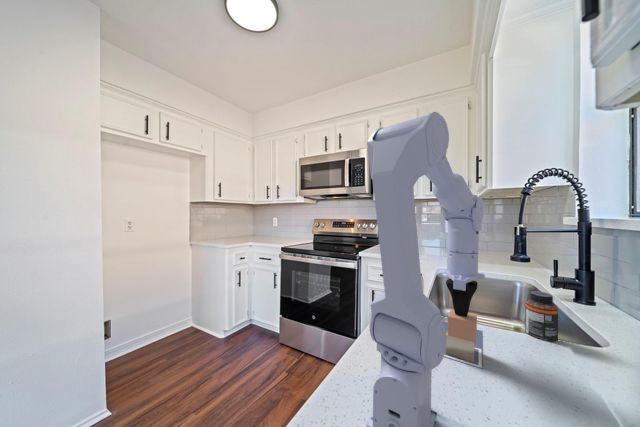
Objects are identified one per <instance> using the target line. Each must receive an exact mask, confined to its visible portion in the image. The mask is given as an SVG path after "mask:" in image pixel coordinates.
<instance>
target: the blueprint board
mask: <svg viewBox="0 0 640 427" xmlns="http://www.w3.org/2000/svg"><path fill="white" fill-rule="evenodd" d="M442 324H443V326H444V329H445V331H446V334H447V330H448V321H447V322H446V321H442ZM483 335H484V334H483V330H481V329H480V330H479V329H477V334H476V343H475V351H474V362H471V361H468V360H464V359H461V358H458V357H455V356H451V355H448V354H446V350H445V354H444V357H443V359H444V358H446V359H448V360H451V361H454V362H458V363H460V364H464V365H467V366H471V367H474V368H477V369H480V370H484V349H483V348H484V346H483V345H484V344H483V343H484V341H483V337H484V336H483Z"/></svg>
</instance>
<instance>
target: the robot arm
mask: <svg viewBox="0 0 640 427" xmlns="http://www.w3.org/2000/svg"><path fill="white" fill-rule="evenodd" d="M449 133H450V132H449V128H448V124H447V122H446V119H445V118H444V116H443V115H441V114H440V113H439V112H437V111H432V112H429V113H427V115H425V114H424V115H423V116H419V117H415V118H412V119H409V120H406V121H402V122H398V123H395V124H392V125H388V126H386V127H385V126H382V127H379V128H377V129H375V130H374V131H373V133H372V134H371V136H370V137H369V139H368V140H367V142H366V145H367V153H368V154H367V155H368V164H369V170H370V171H369V172H370V174H369V175H370V179H371V180H372V189H373V196H374V197H373V198H374V204H375V205H374V206H375V214H376V224H377V225H376V226H377V234H378V243H379V251H380V252H379V253H380V261H381V270H382V271H381V273H382V278H383V287H384V288H383V289H384V292H382V293H380V294H378V295H377V296H376V297H375V299H373V300H372V302H371V303H370V310H371V313H370V314H371V315H370V319H369V326H368V327H369V335H370V337H371V339H372V340H373V341H374V342H375V343H376V351H377V352H378V353H380V370H379V374H378V375H377V378H376V380H375V382H374V384H373V389H372V390H373V393H372V394H373V395H372V402H373V403H372V412H371V413H370V415H369V417H368V418H367V421H366V423H365V424H366V427H434V426H435V421H436V417H437V412H436V411H434V410H432V372H433V371H432V370H434V369H435V368H436V367H438V366H439V365H441V363H442V361H443V360H444V354H445V350H446V344H447V335H446V331H445V329H444V326H443V324H442V322H443V319H442V315H441V309H439V307H438V306H437V305H436V304H435V303H434V302H433V301H432V300H431V299H429V298H428V297H427V296H426V295H425V293H424V294H423V292H422V283H421V274H422V272H421V262H420V252H419V251H420V250H419V240H418V238H419V237H418V226H417V218H416V217H417V214H416V204H415V190H414V186H415V184H416V183H417V182H418V180H419V178H422V177H424V176H425V177H426V178H427V179H428V180H429V181H430V182H431V183H432V184H433V185H432V191H431V192H432V194H433V195H434V197H435V198H436V199H437V200H438V202H439V203H440V208H441V211H442V215H443V218H444V220H445V221H447V235H446V236H447V241H446V244H447V245H446V246H447V248H446V270H445V275H446V276H447V277H448V278H447V279H446V281H445V285H446V287H447V290H448V291H449V293H450V296H451V297H450V298H451V300H452V306H453V309H454V312H455V315H459V316H463V317H467V315H468V312H469V311H470V306H471V302H472V301H471V300H472V298H473V296H474V295H475V294H476V291H477V289H478V281H476V280H478V279H480V280H485V279H486V277H485V275H486V274H485V273H480V272H479V242H480V241H479V238H480V235H479V234H480V231H481V230H482V222H483V221H482V220H483V219H484V218H483V217H484V211H485V210H484V209H485V207H484V200H483V198H482V197H481V196H478V194H473V192H472V191H471V188H470V187H469V186H468V183H467V182H466V180H465V178H464V177H463V176H462V175H460V174H459V173H457V172H456V173H454V171H453V170H452V166H451V164H450V162H449V159H448V158H447V152H448V148H449V145H450V144H449V143H450V135H449Z"/></svg>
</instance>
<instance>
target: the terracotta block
mask: <svg viewBox="0 0 640 427" xmlns="http://www.w3.org/2000/svg"><path fill="white" fill-rule="evenodd" d="M447 323H448V336H452V337H456V338H459V339H463V340H467V341H471V342H474V343H476V334H477V330H478V329H477V328H478V326H477V325H478V313H473V312H469V311H468V315H467V317H463V316H459V315H455V312H454V308H450V309H449V313H448V315H447Z"/></svg>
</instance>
